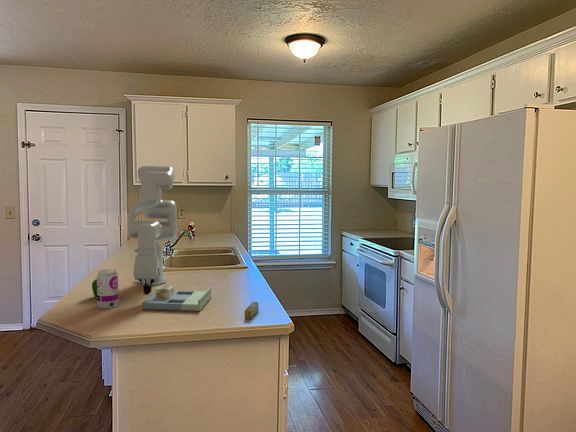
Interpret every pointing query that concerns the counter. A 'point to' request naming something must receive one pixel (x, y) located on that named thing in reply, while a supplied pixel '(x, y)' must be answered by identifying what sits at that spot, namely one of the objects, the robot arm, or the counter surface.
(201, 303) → the slate trap deck
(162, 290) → the maple block
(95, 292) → the bell pepper
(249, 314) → the medication box
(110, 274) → the supplement can
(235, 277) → the counter surface
